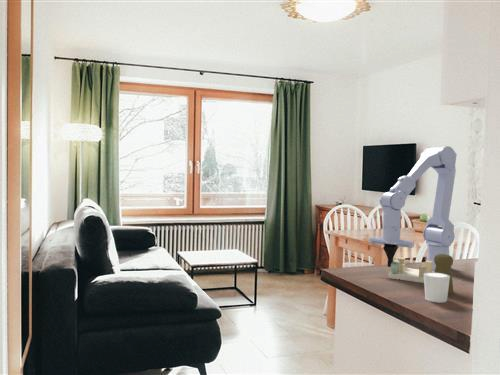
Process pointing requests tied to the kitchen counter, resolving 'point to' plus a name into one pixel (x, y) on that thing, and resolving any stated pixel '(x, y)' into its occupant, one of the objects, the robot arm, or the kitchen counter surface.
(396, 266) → the hinged leg
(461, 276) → the kitchen counter surface
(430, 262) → the stool seat
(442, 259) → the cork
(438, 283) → the shot glass
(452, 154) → the robot arm
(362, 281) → the kitchen counter surface
